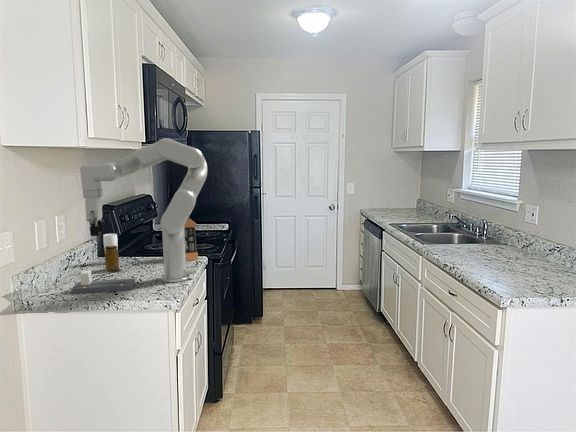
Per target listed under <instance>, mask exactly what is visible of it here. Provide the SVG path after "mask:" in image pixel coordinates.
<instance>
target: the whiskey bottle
mask: <svg viewBox="0 0 576 432" xmlns="http://www.w3.org/2000/svg"><path fill="white" fill-rule="evenodd" d="M190 215H191V214H190ZM190 215H189V217H188V219H187V221H186V223H185V224H184V234H185V260H186V261H196V260H199V254H198V250H197V236H196V235H197V234H196V228H197V222H195V221H193V220H192V219H191V218H190Z"/></svg>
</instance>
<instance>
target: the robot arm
mask: <svg viewBox="0 0 576 432" xmlns="http://www.w3.org/2000/svg"><path fill="white" fill-rule="evenodd" d="M164 161H165V162H166V161H170V162H173V163H174V164H178V165H182V166H184V167H186V168H187V173H186V175H185V176H184V178H183V181H182V183H181V184H180V186H179V187H178V189H177V191H176V192H175V193H174V195H173V197H172V199H170V200H171V201H170V202H169V203H168V205H167V208H166V210H165V212H163V214H162V216H161V219H160V222H159V223H160V227H161V229H162V230H161V231H162V251H163V253H162V254H163V273H164V274H163V275H161V276H160V280H161V282H165V283H179V282H184V281H187V280H189V279H190V277H191V276H190V275H196V274H197V270H196V269H193V268H191V269H189V268H188V267H187V265H186V260H185V234H184V224H185V223H186V221H187V219H188V217H189V215H191V214H192V212H193V210H194V208H195V206H196V202H197V198H198V195H199V194H200V192H201V189H202V188H203V186H204V183H205V182H206V180H207V176H208V164H207V161H206V158H205V157H204V154H203V153H202V151H201V150H200V149H198V148H196V147H192V146H189V145H186V144H184V143H181V142H179V141H176V140H173V139H171V138H169V137H168V138H167V137H165V138H161V139H160V140H158V141H156V142H154V143H150V144H149V145H146V146H143V147H141V148H139V149H137V150H134V151H133V152H132V153H131V154H128V155H127V156H124V157H123V158H120V159H118V160H115V161H113V162H109V163H108V162H107V163H102V164H83V165H80V167H79V171H80V172H79V173H80V182H81V188H82V189H81V190H82V197H83V199H84V200H85V201H84V202H85V203H84V204H85V205H84V206H85V209H84V210H85V219H86V220H85V221H86V222H87V223H88V222H89V231H90V233H89V235H90V236H91V237H98V236H99V235H100V232H101V233H103V232H104V223H103V220H102V218H103V207H102V199H101V198H102V197H104V195H103V194H104V193H103V187H102V186H103V185H102V182H114V181H116V180H118V179H121V178H123V177H126V176H129V175H131V174H133V173H135V172H139V171H142V170H143V171H144V170H145V169H148V168H150V167H152V166H156V165H157V164H160V163H163V162H164ZM189 218H190V217H189Z"/></svg>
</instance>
